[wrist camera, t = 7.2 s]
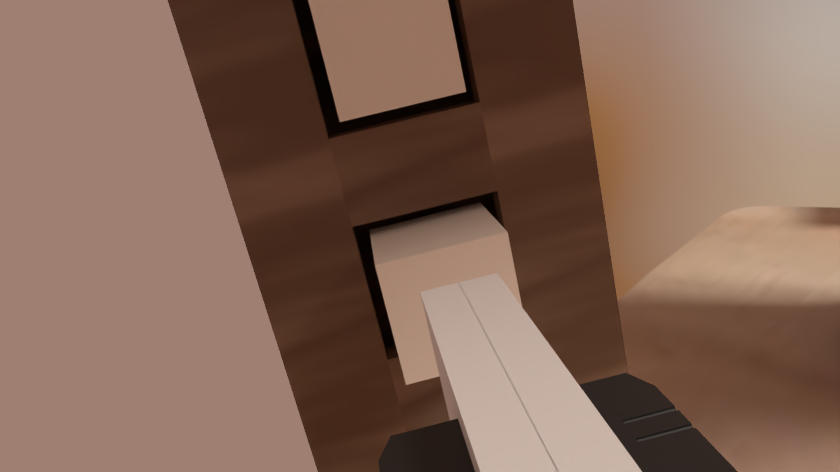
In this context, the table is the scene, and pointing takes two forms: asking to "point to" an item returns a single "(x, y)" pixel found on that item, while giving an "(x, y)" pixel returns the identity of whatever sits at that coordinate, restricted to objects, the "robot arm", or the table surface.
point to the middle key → (435, 272)
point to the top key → (387, 53)
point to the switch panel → (402, 198)
